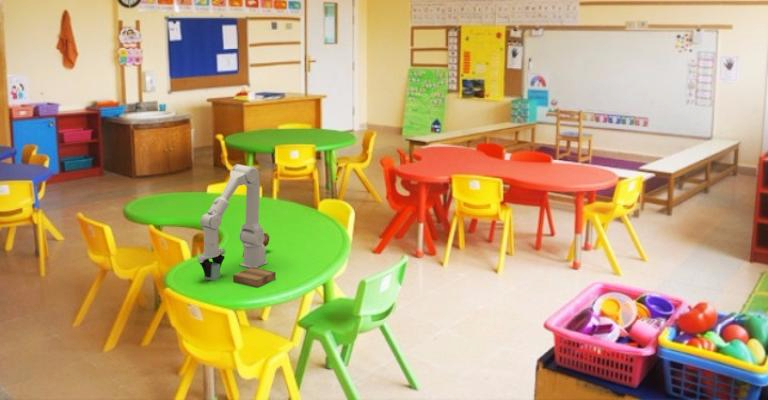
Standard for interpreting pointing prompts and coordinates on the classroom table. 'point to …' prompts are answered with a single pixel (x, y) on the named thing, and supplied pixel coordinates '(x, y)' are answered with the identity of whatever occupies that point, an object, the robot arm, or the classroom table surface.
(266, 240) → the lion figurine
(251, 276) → the walnut base
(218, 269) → the teal block
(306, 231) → the classroom table surface
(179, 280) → the classroom table surface
